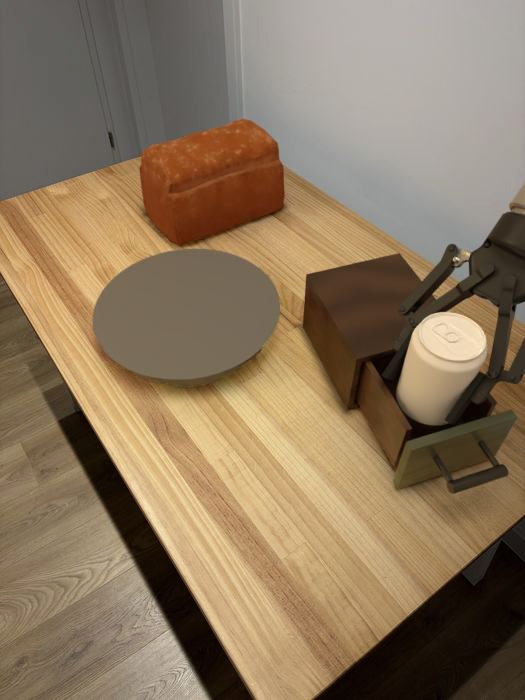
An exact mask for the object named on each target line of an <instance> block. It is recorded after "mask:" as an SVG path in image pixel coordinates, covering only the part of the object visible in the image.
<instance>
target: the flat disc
mask: <svg viewBox="0 0 525 700" xmlns="http://www.w3.org/2000/svg"><path fill="white" fill-rule="evenodd" d="M280 316H281V301H280V296H279V293H278V290H277V288H276V285H275V284H274V282H273V281H272V279H271V278H270V277H269V275H268V274H267V273H266V272H264V270H263V269H261V268H260V267H259V266H257V265H256V264H254V263H253V262H252V261H250V260H248V259H246V258H243V257H241V256H239V255H237V254H233V253H230V252H226V251H222V250H217V249H209V248H181V249H174V250H168V251H163V252H160V253H157V254H154V255H149V256H148V257H145V258H142V259H140V260H138V261H136V262H135V263H132V264H130V265H129V266H128V267H126V268H124V269H122V270H121V271H120V272H119V273H118V274H116V275H115V276H113V278H112V279H111V280H110V281H109V282H108V283H107V284H106V285H105V287H104V288H103V290H101V292H100V294H99V296H98V298H97V299H96V302H95V305H94V307H93V311H92V328H93V329H92V330H93V334H94V336H95V339H96V341H97V343H98V345H99V346H100V347H101V349H102V350H103V352H104V353H105V354H106V355H107V356H108V357H109V358H110V359H111V360H113V361H114V362H115V363H117V364H118V365H120V366H121V367H123V368H125V369H126V370H127V371H128V372H130V373H132V374H133V375H134V376H135V377H138V378H141V379H142V380H146V381H149V382H150V381H151V382H155V383H159V384H165V385H169V386H171V387H179V388H182V389H184V388H191V387H193V388H195V387H197V388H198V387H201V386H205V385H206V386H207V385H210V384H211V383H215V382H218V381H219V380H221V379H222V378H224V377H226V376H229V375H231V374H233V373H234V372H237V371H239V370H240V369H242V368H243V367H244V366H245V365H247V364H248V363H250V362H251V361H252V360H254V359H255V358H256V357H257V356H258V355H259V354H260V352H261V351H262V349H263V348H264V346H266V344H267V343H268V341H270V339H271V337H272V336H273V334H274V332H275V330H276V328H277V326H278V324H279V319H280Z"/></svg>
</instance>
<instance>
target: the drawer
mask: <svg viewBox="0 0 525 700" xmlns="http://www.w3.org/2000/svg"><path fill="white" fill-rule="evenodd" d="M395 354H396V353H393V354H390V355H386V356H382V357H379V358H375V359H371V360H367V361H364V362H362V364H361V369H360V374H359V379H358V384H357V389H356V394H355V399H356V401H357V402H358V404H359V406H360V407H359V408H360V409H361V411H362V413H363V415H364V417H365V418H366V420H367V422H368V424H369V426H370V427H371V429H372V431H373V433H374V435H375V437H376V438H377V440H378V442H379V444H380V445H381V447H382V449H383V451H384V453H385V455H386V457H387V459H388V460H389V462H390V464H391V465H392V467H393V468H396V471H395V474H394V476H393V479H392V482H393V484H394V486H395V487H396V489H397V490H398V489H399V490H400V489H402V488H405V487H408V486H411V485H415V484H417V483H419V482H424V481H427V480H429V479H433V478H436V477H438V476H443V478H444V479H445V481H446V488H447V490H448V492H449V494H450V495H455V494H458V493H461V492H464V491H467V490H470V489H474V488H475V487H479V486H481V485H485V484H488V483H491V482H494V481H496V480H499V479H502V478H503V479H504V478H505V477H508V476H509V469H508V467H507V465H505V464H504V463H500V462H499V460H498V459H497V458H496V455H497V454H498V452H499V450H500V448H501V447H502V445H503V443H504V441H505V440H506V438H507V436H508V435H509V433H510V432H511V430H512V428H513V427H514V424H515V423H516V421H517V420H518V416H517V414H516V413H515V412H514V410H513V409H508V410H505V411H500V412H499V413H495V414H493V413H494V411H495V408H497V405H498V401H497V400H496V399H495V397H494V396H493V395H492V393H491V392H490V393H489V395H488V396H487V397H486V399H485V400H484V402H482V403H481V404H476V403H474V402H473V401H471V403H470V404H469V405H468V407H467V408H466V410H465V411H464V412H463V414H462V415H461V417H460V418H459V419H458V421H457V422H456V424H449V423H448V424H445V425H437V426H434V425H426V424H423V423H420V422H417V421H415V420H413V419H412V418H410V417H409V416H408V415H407V414H405V413H404V411H403V410H402V409H401V408H400V406H399V404H398V402H397V398H396V390H397V386H398V382H399V379H400V375H401V372H402V369H401V370H400V372H399V373H398V374H397V376H396V377H395V379H394V380H389V379H386V378H384V377H383V376H381V375H382V374H383V372H384V371H385V369H386V368H387V366H388V365H389V363H390V362H391V360H392V359H393V357H394V356H395ZM402 368H403V367H402ZM485 461H489V462H490V464H491V467H489V468H486V469H482V470H479V471H476V472H473V473H470V474H467V475H464V476H462V477H458V478H455V479H454V477H453V476H452V474H451V472H454V471H457V470H460V469H463V468H466V467H469V466H472V465H476V464H478V463H481V462H485Z"/></svg>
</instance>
